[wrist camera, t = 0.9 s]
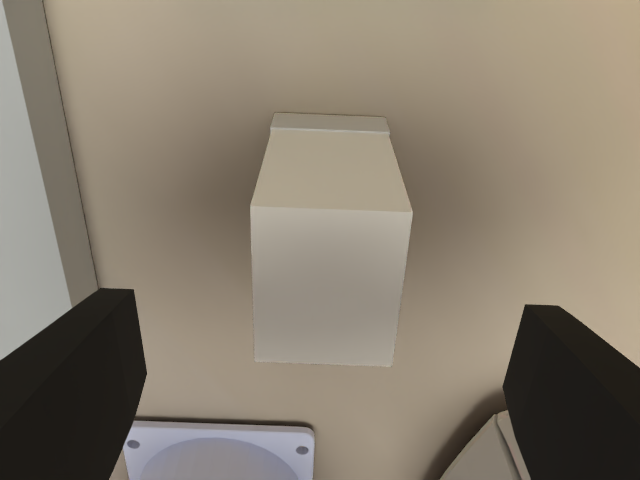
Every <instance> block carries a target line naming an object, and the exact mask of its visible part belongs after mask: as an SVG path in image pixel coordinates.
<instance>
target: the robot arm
mask: <svg viewBox="0 0 640 480" xmlns="http://www.w3.org/2000/svg"><path fill="white" fill-rule="evenodd" d="M146 376H147V370H146V364H145V358H144V351H143V345H142V339H141V332H140V326H139V320H138V313H137V307H136V301H135V294H134V289H110V288H100V289H99V290H97V291H96V292H94V293H92V294H91V295H90V296H88V297H87V298H85V299H84V300H83V301H81V302H80V303H78V304H77V305H76V306H74V307H73V308H72V309H70V310H69V311H68V312H66V313H65V314H63V315H62V316H61V317H59V318H58V319H57V320H55V321H54V322H53V323H51V324H50V325H49V326H47V327H46V328H44V329H43V330H42V331H40V332H39V333H38V334H36V335H35V336H33V337H32V338H31V339H29V340H28V341H27V342H25V343H24V344H22V345H21V346H20V347H18V348H17V349H15V350H14V351H13V352H11V353H10V354H8V355H7V356H6V357H4V358H3V359H1V360H0V480H109V478H110V476H111V474H112V472H113V469H114V467H115V465H116V462H117V460H118V458H119V455H120V453H121V451H122V448H123V451H124V456H125V461H126V466H127V471H128V476H129V480H313V466H314V445H315V435H314V432H313V431H312V430H311V429H309V428H307V427H295V426H267V425H240V424H212V423H184V422H156V421H134V418H135V415H136V411H137V408H138V405H139V401H140V398H141V394H142V390H143V387H144V383H145V379H146ZM503 391H504V395H505V399H506V404H507V408H508V413H509V417H510V420H511V424H512V428H513V432H514V436H515V439H516V442H517V444H518V447H519V450H520V452H521V455H522V458H523V460H524V463H525V465H526V468H527V471H528V473H529V476H530V478H531V480H640V368H639V367H638V366H636V365H635V364H634V363H633V362H631V361H630V360H629V359H627V358H626V357H625V356H624V355H622V354H621V353H620V352H618V351H617V350H616V349H615V348H613V347H612V346H611V345H610V344H608V343H607V342H606V341H605V340H603V339H602V338H601V337H599V336H598V335H597V334H596V333H594V332H593V331H592V330H591V329H589V328H588V327H587V326H585V325H584V324H583V323H582V322H580V321H579V320H578V319H576V318H575V317H574V316H572V315H571V314H570V313H568V312H567V311H565V310H564V309H562V308H561V307H560V306H553V305H527V304H525V307H524V311H523V314H522V318H521V322H520V325H519V329H518V333H517V336H516V340H515V344H514V347H513V351H512V354H511V358H510V362H509V365H508V369H507V373H506V376H505V380H504V384H503ZM134 440H135V441H134ZM300 446H305V447H300Z"/></svg>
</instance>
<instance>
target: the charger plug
mask: <svg viewBox="0 0 640 480" xmlns="http://www.w3.org/2000/svg"><path fill="white" fill-rule="evenodd" d="M412 216H413V211H412V208H411V205H410V201H409V198H408V195H407V192H406V189H405V185H404V182H403V179H402V176H401V173H400V170H399V166H398V163H397V160H396V157H395V154H394V150H393V147H392V144H391V141H390V130H389V127H388V124H387V121H386V118H385V117H371V116H346V115H322V114H297V113H274V116H273V119H272V123H271V126H270V138H269V141H268V145H267V148H266V152H265V156H264V159H263V163H262V166H261V170H260V173H259V177H258V180H257V184H256V187H255V191H254V194H253V198H252V201H251V205H250V219H251V256H252V292H253V328H254V362H271V363H299V364H327V365H355V366H383V367H392V364H393V357H394V349H395V342H396V335H397V327H398V320H399V312H400V305H401V298H402V290H403V283H404V275H405V268H406V261H407V253H408V246H409V238H410V231H411V223H412Z"/></svg>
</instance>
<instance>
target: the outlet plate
mask: <svg viewBox="0 0 640 480" xmlns="http://www.w3.org/2000/svg"><path fill="white" fill-rule="evenodd" d="M97 290H98V285H97V280H96V275H95V270H94V265H93V260H92V255H91V249H90V244H89V239H88V234H87V229H86V224H85V219H84V213H83V208H82V203H81V198H80V193H79V188H78V183H77V177H76V172H75V167H74V162H73V157H72V152H71V147H70V141H69V136H68V131H67V126H66V121H65V116H64V111H63V105H62V100H61V95H60V90H59V85H58V80H57V75H56V70H55V64H54V59H53V54H52V49H51V44H50V39H49V34H48V28H47V23H46V18H45V13H44V8H43V3H42V0H0V360H1V359H3V358H4V357H6V356H7V355H8V354H10V353H11V352H13V351H14V350H15V349H17V348H18V347H20V346H21V345H22V344H24V343H25V342H27V341H28V340H29V339H31V338H32V337H33V336H35V335H36V334H38V333H39V332H40V331H42V330H43V329H44V328H46V327H47V326H49V325H50V324H51V323H53V322H54V321H55V320H57V319H58V318H59V317H61V316H62V315H63V314H65V313H66V312H68V311H69V310H70V309H72V308H73V307H74V306H76V305H77V304H78V303H80V302H81V301H83V300H84V299H85V298H87V297H88V296H90V295H91V294H92V293H94V292H96V291H97Z"/></svg>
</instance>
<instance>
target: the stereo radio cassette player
mask: <svg viewBox="0 0 640 480" xmlns="http://www.w3.org/2000/svg"><path fill="white" fill-rule="evenodd" d="M440 480H531V478H530V476H529V473H528V471H527V468H526V465H525V463H524V460H523V458H522V455H521V452H520V450H519V447H518V444H517V442H516V439H515V436H514V432H513V428H512V424H511V420H510V417H509V413H508V410H506V411H502V412H500V413H498V414H494V415H493V416H492V417H491V418H490V419H489V420H488V422H487V423H486V424H485V425H484V426H483V427H482V428H481V429H480V430H479V432H478V433H477V434H476V435H475V436H474V437H473V438H472V439H471V440H470V442H469V443H468V444H467V445H466V446H465V447H464V449H463V450H462V451H461V452H460V454H459V455H458V456H457V457H456V459H455V460H454V461H453V462H452V464H451V465H450V466H449V467H448V469H447V470H446V471H445V473H444V474H443V476H442V477H441V479H440Z"/></svg>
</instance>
